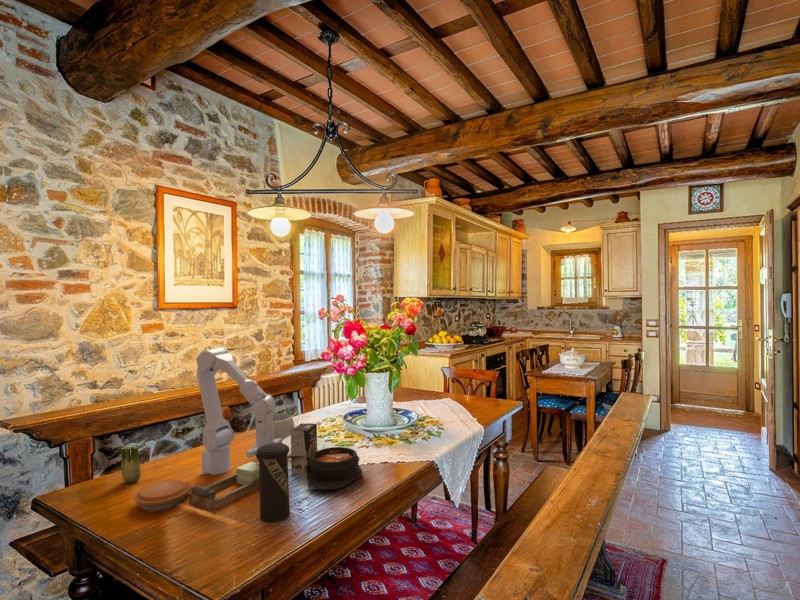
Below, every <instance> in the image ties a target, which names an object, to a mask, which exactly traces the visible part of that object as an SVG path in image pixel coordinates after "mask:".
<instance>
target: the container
mask: <svg viewBox="0 0 800 600" xmlns="http://www.w3.org/2000/svg"><path fill="white" fill-rule="evenodd" d="M289 450H290V446H289V445H288V444H286V443H283V442H282V443H271V444H266V445H263V446H261V447H260V448H259V449H258V450H257V455H258V457H259V460H258V462H259V463H258V464H259V477H260V487H259V515H260V516H259V518H260V520H261V521H262V522H265V523H270V524H271V523H278V522H282V521H284V520H286V519H288V518H289V516H290V513H291V508H290V484H289V483H290V482H289V464H288V463H289V462H288V461H289V460H288V457H287V454H288V452H289Z"/></svg>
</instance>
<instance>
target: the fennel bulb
mask: <svg viewBox="0 0 800 600" xmlns="http://www.w3.org/2000/svg"><path fill="white" fill-rule="evenodd" d="M120 458H121V459H120V470H121V475H122V479H123V482H124V483H126V484H132V483H135V482H138V480H140V478H141V475H142V474H141V473H142V472H141V465H140V462H139V447H138V446H134V445H132V446H131V447H130V446H129V447H121V448H120Z"/></svg>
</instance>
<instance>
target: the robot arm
mask: <svg viewBox="0 0 800 600" xmlns="http://www.w3.org/2000/svg"><path fill="white" fill-rule="evenodd" d="M195 360H196V364H197V367H196V379H197V382H198V387H199V392H200V396H201V401H202V405H203V411H204V415H205V419H206V425H205V426H204V428H203V430H202V435H203V437H202V444H203V447H204V449H203V451H202V453H201V472H199V474H200V475H202V476H204V475H206V474H209V475H221V474H225V473H228V472H230V471H231V449H230V448H231V444H232V443H231V442H233V440H234V438H235V437H234V436H235V433H234V430H233V428H232V427H231V424H230V422H229V421H228V420H227V419H225V418H224V415H223V410H222V405H221V401H220V396H219V391H218V387H217V383H216V382H217V381H216V378H215V376H216V375H217V373H218V371H224V372H225V373H226V374H227V376H229V377H230V379H232V380H233V381H234V382H235V383H236V384H237V385H238V386H239V392H240V394H242V396H243V397H244V398H245V399H246V400H247V402H248V403H249V404H250V405H251V411H252V412H251V413H252V414H253V415H254V420H255V440H256V442H255V443H256V444H255V445H254V446H253V447H251V448H250V449H249V450H247V451H246V457H247V458H254V456H255V458H256V459H257V460H258V461H259V457H258V455H257V450H258V449H259V448H260V447H261V446H263V445H266V444H271V443H283V441H282V439H280V438H277V439H274V437H273V414H274V410H276V409H275V408H276V406H277V401H276V400H275V398H274V396H273V395H271V394H267V393H266V392H265V391H264V390H263V389H262V387H260V386H259V385H258V384H259V383H258V382H257V381H255V380H253V379H249V378H248V377H247V376H246V374H244V372H243V371H242V370H241V368H240V367H239V366H238V365H237V363H236V362H235V360H234V358H233V355H232V354H231V353H230V351H229V350H228V349H227V348H226V347H222V346H221V347H218V348H212V349H209V350H202V351H201V352H200V353H199V354H198V356H197V357H196V359H195Z"/></svg>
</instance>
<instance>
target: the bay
mask: <svg viewBox="0 0 800 600" xmlns="http://www.w3.org/2000/svg"><path fill="white" fill-rule="evenodd" d="M236 478H237V473H233V474H231V475H229V476H226V477H224V478H222V479H220V480H218V481H216V482H213V483H211V484H209V485H206V486H202V485H197V484H195V485H192V486H191V489H190V491H189V492H188V500H189V501H188V502H189V507H191V506H192V508H194V509H198V510H200V511H203V512H206V513H210V514H213V515H216V513H215V511H216V510H218V509H220V508H223V507H224V506H226V505H229V504H230V503H232V502H234V501H235V500H238V499H240V498H241V497H244V496H245V495H248V494H249V493H252V492H253V491H256V490H257V489H260V478H258V479H256V480H254V481H252V482H250V483H248V484H246V485H242V486H240V487H237V488H235V489H233V490H232V491H229V492H227V493H225V494H224V495H222V496H219V497H218V498H217V497H216V493H217V492H219V491H221V490H223V489H226V488H227V487H229V486H232V485H234V484H237V481H236ZM190 504H192V505H190ZM193 505H196V506H193ZM197 506H199V507H197ZM200 507H201V508H200ZM203 508H204V509H203ZM207 509H209V510H212V511H214V512H212V511H209V510H207Z"/></svg>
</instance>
